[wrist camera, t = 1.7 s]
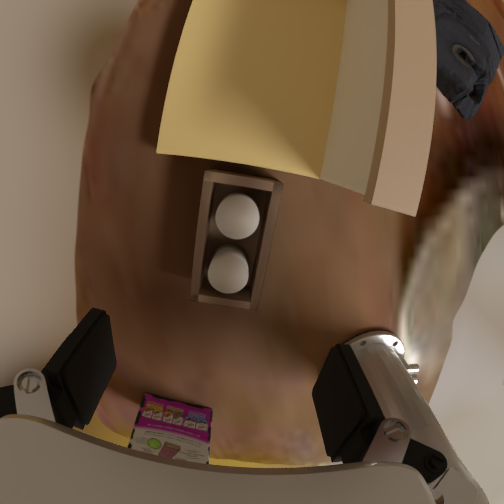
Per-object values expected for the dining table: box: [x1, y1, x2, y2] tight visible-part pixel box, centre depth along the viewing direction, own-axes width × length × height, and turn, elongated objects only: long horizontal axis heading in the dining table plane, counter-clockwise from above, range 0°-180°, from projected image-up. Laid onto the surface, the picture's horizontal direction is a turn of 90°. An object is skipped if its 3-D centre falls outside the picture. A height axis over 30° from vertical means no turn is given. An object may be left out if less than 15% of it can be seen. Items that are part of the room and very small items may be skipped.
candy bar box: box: [128, 393, 213, 464], centre depth 29 cm, size 11×5×16 cm, turn 75°
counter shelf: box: [156, 0, 437, 216], centre depth 15 cm, size 17×23×14 cm
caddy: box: [190, 169, 284, 310], centre depth 25 cm, size 6×12×5 cm, turn 170°
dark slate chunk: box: [433, 0, 504, 119], centre depth 17 cm, size 15×22×5 cm
